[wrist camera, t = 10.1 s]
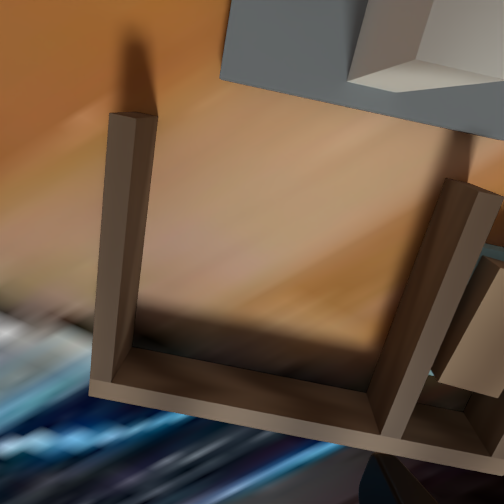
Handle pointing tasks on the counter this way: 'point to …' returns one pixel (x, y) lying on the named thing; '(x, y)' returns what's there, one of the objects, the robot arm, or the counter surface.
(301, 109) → the counter surface
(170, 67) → the counter surface
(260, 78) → the mat
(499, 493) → the counter surface
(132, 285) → the rack
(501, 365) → the offcut upper
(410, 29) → the board
